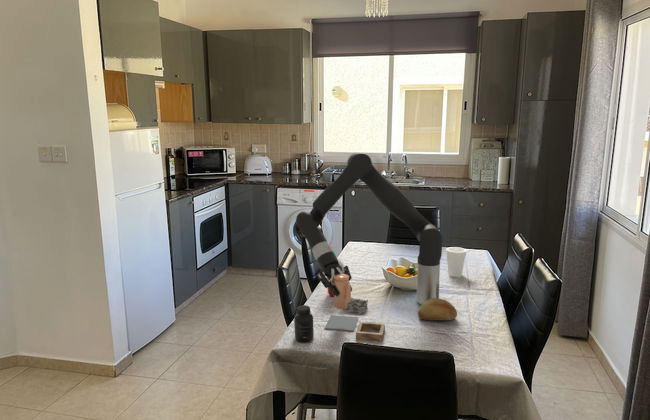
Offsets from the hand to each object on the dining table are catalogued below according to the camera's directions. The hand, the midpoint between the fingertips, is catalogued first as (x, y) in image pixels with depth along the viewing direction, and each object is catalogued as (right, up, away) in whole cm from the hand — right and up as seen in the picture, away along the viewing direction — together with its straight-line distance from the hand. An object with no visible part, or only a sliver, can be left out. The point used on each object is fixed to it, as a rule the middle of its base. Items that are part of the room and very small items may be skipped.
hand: (344, 293), depth 180 cm
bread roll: (+37, -11, +7) cm, 39 cm away
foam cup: (+57, -1, +56) cm, 80 cm away
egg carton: (+5, -10, +18) cm, 21 cm away
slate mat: (-1, -12, +4) cm, 13 cm away
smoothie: (-3, -7, +32) cm, 33 cm away
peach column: (-1, -5, +3) cm, 6 cm away
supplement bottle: (-15, -15, -8) cm, 23 cm away
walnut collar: (+9, -14, -5) cm, 18 cm away
